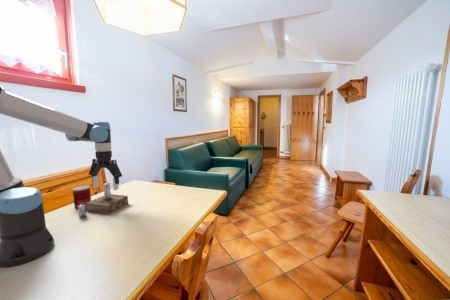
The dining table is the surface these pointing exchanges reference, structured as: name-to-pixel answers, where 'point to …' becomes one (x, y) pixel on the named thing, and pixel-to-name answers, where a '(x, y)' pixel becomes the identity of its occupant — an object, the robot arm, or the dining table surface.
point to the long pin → (107, 191)
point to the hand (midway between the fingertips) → (106, 188)
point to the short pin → (82, 211)
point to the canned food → (81, 195)
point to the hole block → (107, 204)
